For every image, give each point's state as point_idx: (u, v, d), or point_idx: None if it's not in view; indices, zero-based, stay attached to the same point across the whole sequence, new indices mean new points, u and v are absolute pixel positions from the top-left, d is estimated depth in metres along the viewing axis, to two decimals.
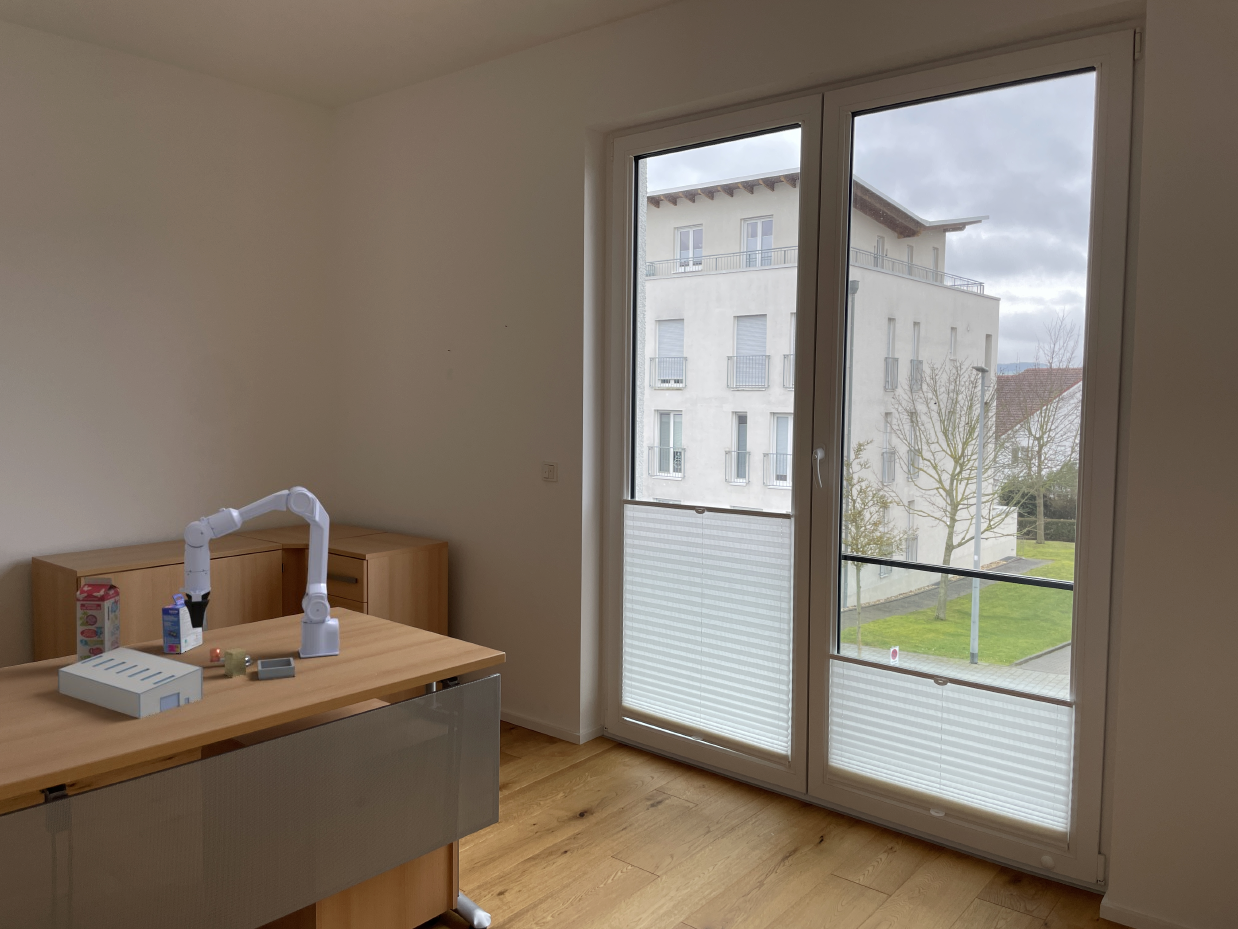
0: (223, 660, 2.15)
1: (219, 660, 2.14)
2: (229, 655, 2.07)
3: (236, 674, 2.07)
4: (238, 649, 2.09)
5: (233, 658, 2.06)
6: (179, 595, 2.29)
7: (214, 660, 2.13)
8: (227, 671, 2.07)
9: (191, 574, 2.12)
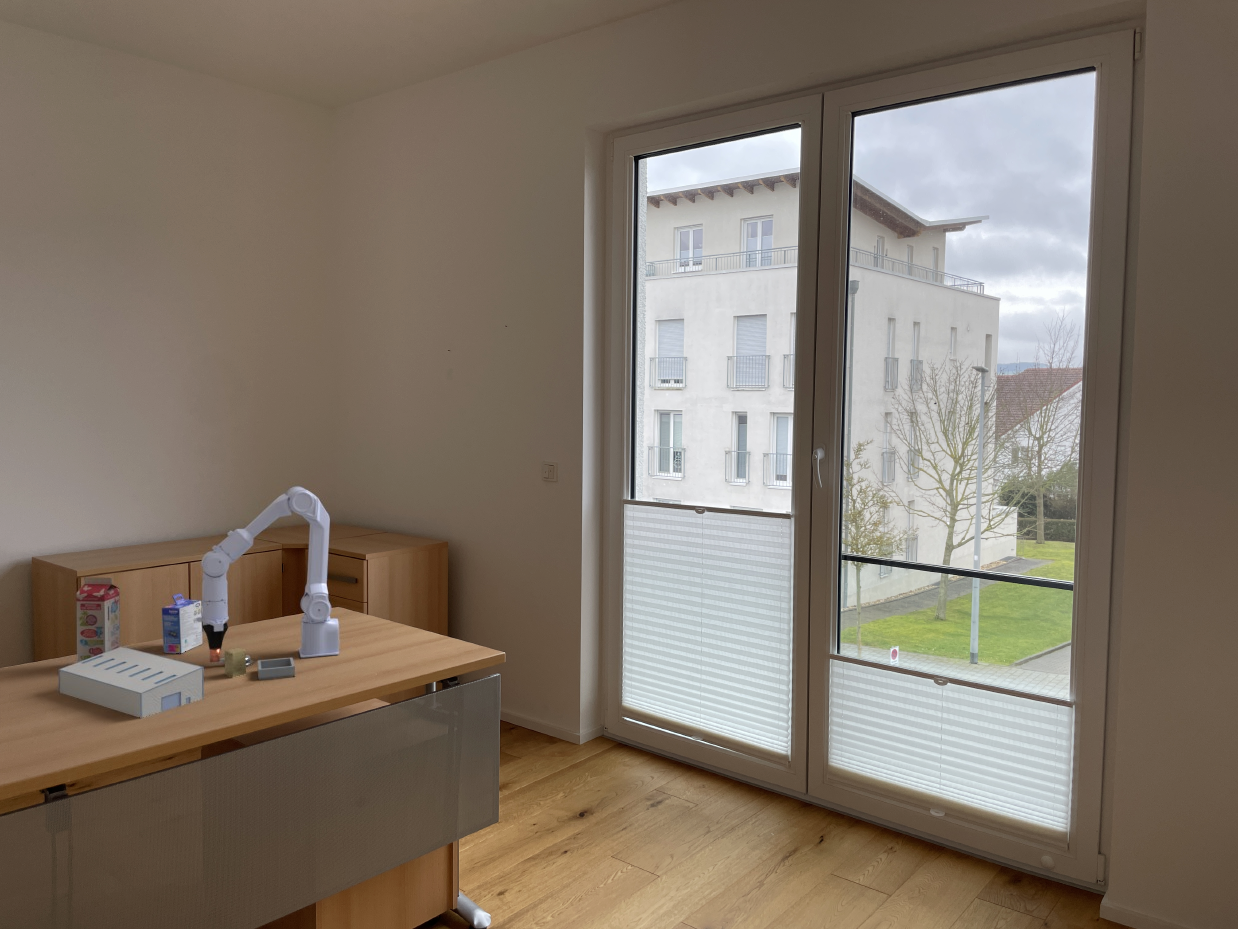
0: (223, 660, 2.15)
1: (219, 660, 2.14)
2: (229, 655, 2.07)
3: (236, 674, 2.07)
4: (238, 649, 2.09)
5: (233, 658, 2.06)
6: (179, 595, 2.29)
7: (214, 660, 2.13)
8: (227, 671, 2.07)
9: (211, 604, 2.13)
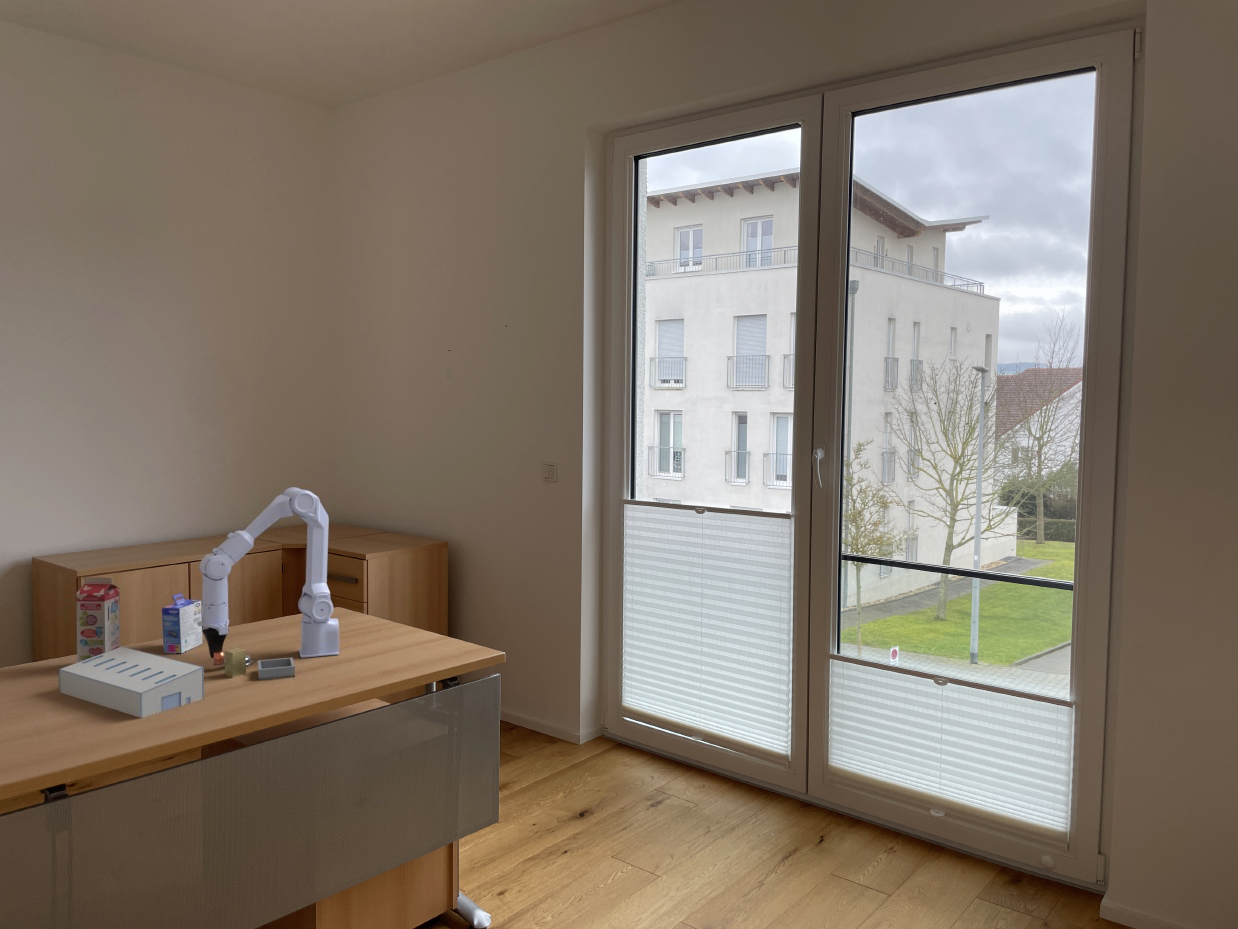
0: None
1: (224, 662, 2.13)
2: (229, 655, 2.07)
3: (236, 674, 2.07)
4: (238, 649, 2.09)
5: (233, 658, 2.06)
6: (179, 595, 2.29)
7: (221, 663, 2.11)
8: (227, 671, 2.07)
9: (213, 607, 2.09)
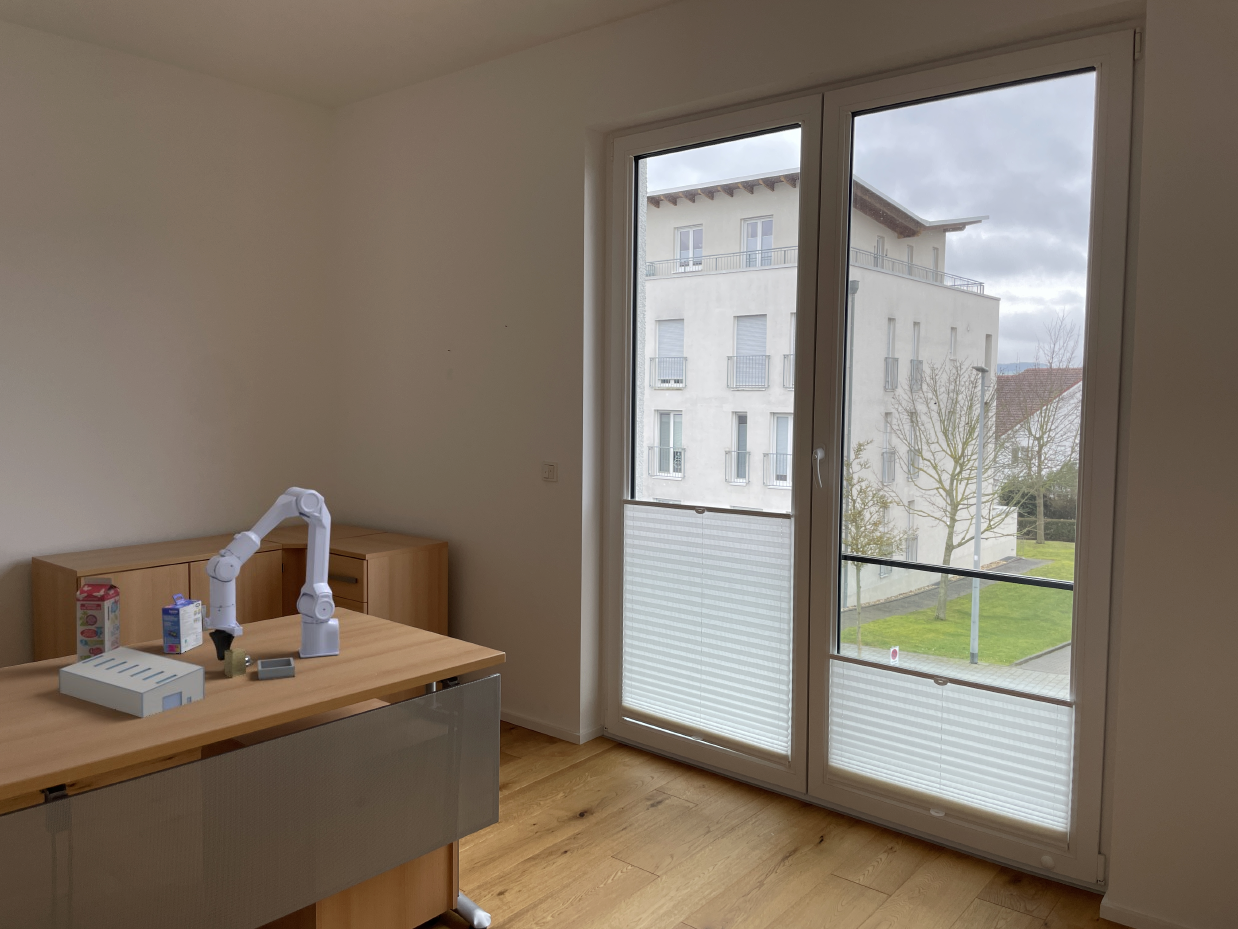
0: None
1: None
2: (229, 655, 2.07)
3: (236, 674, 2.07)
4: (238, 649, 2.09)
5: (233, 658, 2.06)
6: (179, 595, 2.29)
7: None
8: (227, 671, 2.07)
9: (223, 609, 2.08)
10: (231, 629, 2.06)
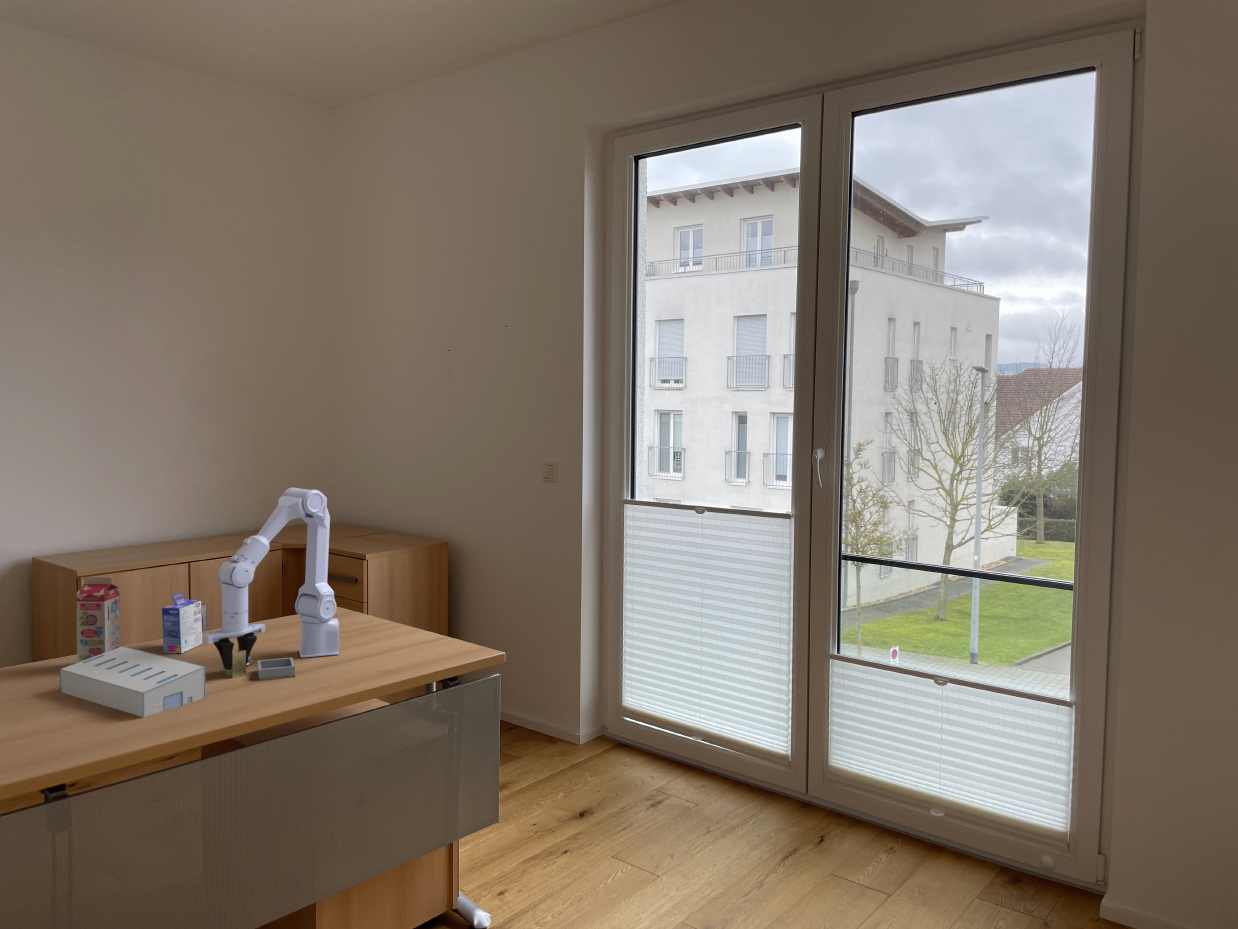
0: None
1: None
2: None
3: (236, 674, 2.07)
4: (238, 649, 2.09)
5: (233, 658, 2.06)
6: (179, 595, 2.29)
7: None
8: (227, 671, 2.07)
9: (222, 614, 2.06)
10: None
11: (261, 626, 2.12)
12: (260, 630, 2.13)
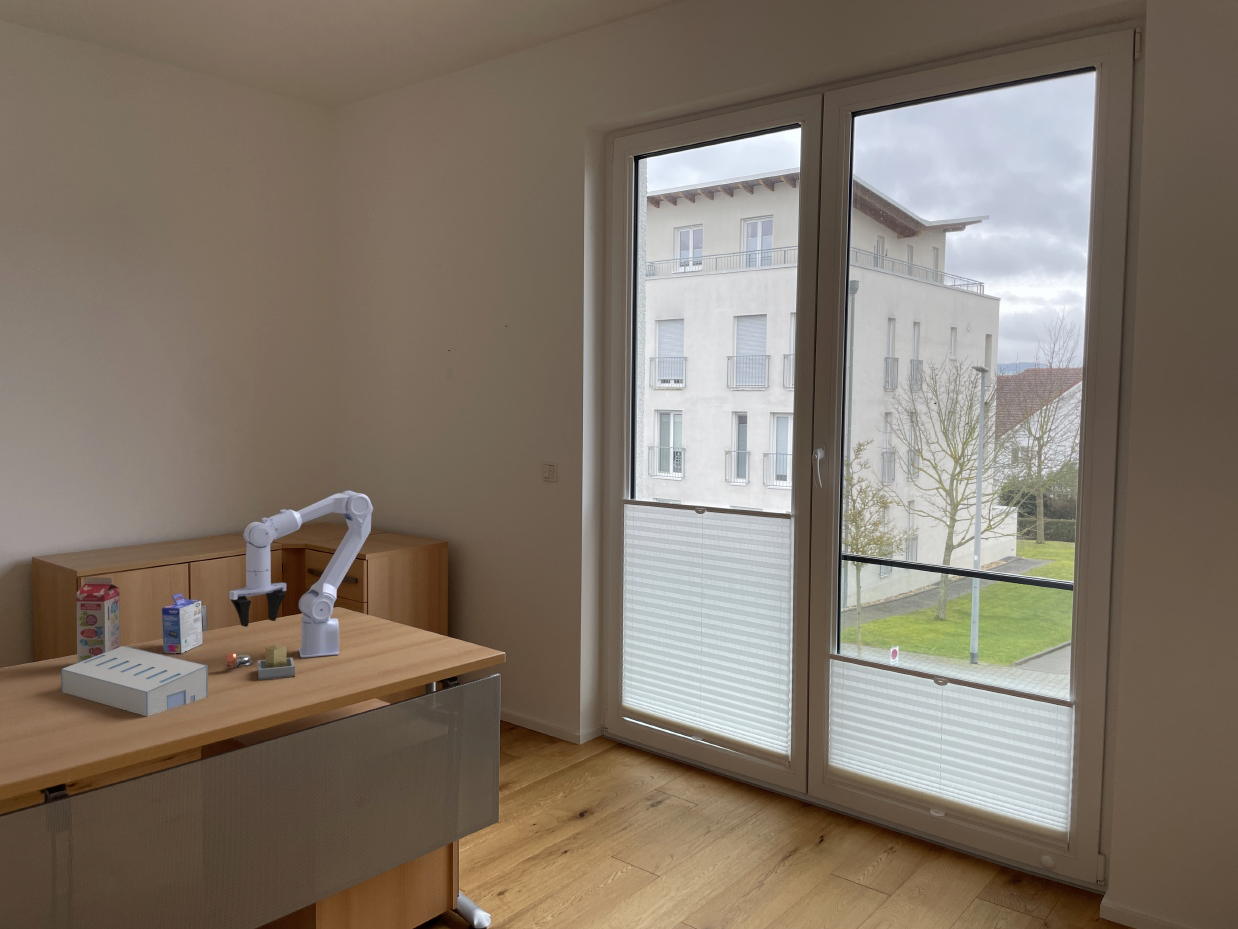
0: (237, 663, 2.13)
1: None
2: (270, 652, 2.08)
3: None
4: (278, 646, 2.11)
5: (274, 654, 2.08)
6: (179, 595, 2.29)
7: (236, 664, 2.11)
8: (268, 667, 2.09)
9: (246, 572, 2.17)
10: None
11: (283, 585, 2.23)
12: (282, 589, 2.23)
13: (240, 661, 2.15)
